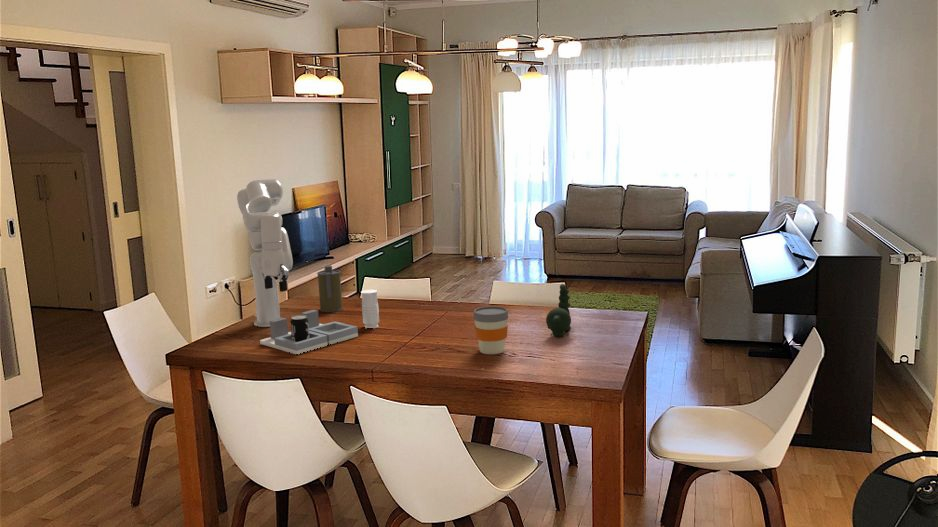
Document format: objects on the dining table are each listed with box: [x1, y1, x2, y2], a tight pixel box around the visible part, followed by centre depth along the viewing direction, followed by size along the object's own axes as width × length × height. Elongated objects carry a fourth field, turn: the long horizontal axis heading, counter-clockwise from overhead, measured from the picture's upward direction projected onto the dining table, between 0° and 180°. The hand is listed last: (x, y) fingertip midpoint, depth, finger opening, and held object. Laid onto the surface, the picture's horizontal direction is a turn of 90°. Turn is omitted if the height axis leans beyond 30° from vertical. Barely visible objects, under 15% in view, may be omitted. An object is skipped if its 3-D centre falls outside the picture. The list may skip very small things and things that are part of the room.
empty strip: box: [300, 309, 359, 346], centre depth 305 cm, size 24×14×8 cm, turn 48°
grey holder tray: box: [259, 317, 328, 355], centre depth 294 cm, size 24×14×8 cm, turn 48°
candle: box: [360, 289, 380, 329], centre depth 316 cm, size 7×7×15 cm
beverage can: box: [289, 314, 310, 342], centre depth 291 cm, size 7×7×12 cm
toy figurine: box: [545, 283, 572, 339], centre depth 296 cm, size 9×19×25 cm
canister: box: [316, 264, 344, 313], centre depth 347 cm, size 11×10×20 cm
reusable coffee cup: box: [473, 305, 509, 355], centre depth 278 cm, size 13×12×15 cm
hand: (276, 289), depth 297 cm, fingers open, 9 cm apart
